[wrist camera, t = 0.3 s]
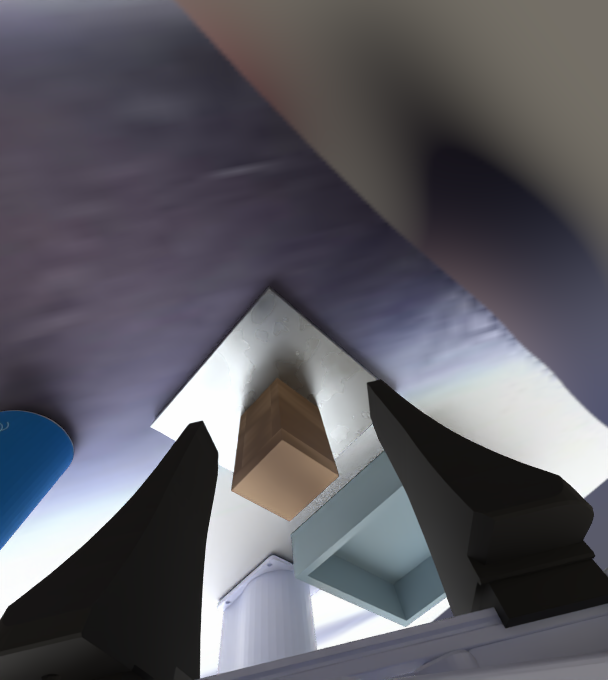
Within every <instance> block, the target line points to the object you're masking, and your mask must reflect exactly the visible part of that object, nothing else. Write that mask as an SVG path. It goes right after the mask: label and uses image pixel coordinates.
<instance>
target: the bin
mask: <svg viewBox="0 0 608 680" xmlns="http://www.w3.org/2000/svg"><path fill="white" fill-rule="evenodd" d="M291 539H292V550H293V562H294V573H295V578H296V579H298V580H301V581H303V582H305V583H307V584H310V585H312V586H314V587H317V588H319V589H321V590H323V591H326V592H328V593H330V594H332V595H335V596H337V597H339V598H341V599H344V600H346V601H348V602H350V603H353V604H355V605H357V606H359V607H362V608H364V609H366V610H368V611H371V612H373V613H375V614H377V615H380V616H382V617H384V618H386V619H389V620H391V621H393V622H396V623H398V624H400V625H402V626H405V627H406V626H408V625H409V624H410V623H412V622H413V621H415V620H416V619H417V618H419V617H420V616H421V615H423V614H424V613H425V612H427V611H428V610H430V609H431V608H432V607H434V606H435V605H436V604H438V603H439V602H440V601H442V600H443V599H445V598H446V597H447V596H446V594H445V591H444V588H443V585H442V583H441V580H440V577H439V575H438V572H437V569H436V567H435V564H434V561H433V559H432V556H431V553H430V551H429V548H428V546H427V543H426V541H425V538H424V535H423V533H422V530H421V528H420V525H419V523H418V520H417V518H416V515H415V513H414V510H413V508H412V506H411V503H410V501H409V498H408V496H407V494H406V491H405V489H404V487H403V485H402V483H401V481H400V479H399V477H398V475H397V474H396V472H395V470H394V468H393V466H392V464H391V462H390V460H389V458H388V456H387V454H386V452H385V450H384V451H383V452H382V453H381V454H380V455H379V456H378V457H377V458H375V459H374V460H373V461H372V462H371V463H370V464H369V465H368V466H367V467H365V468H364V469H363V470H362V471H361V472H360V473H359V474H358V475H357V476H355V477H354V478H353V479H352V480H351V481H350V482H349V483H348V484H347V485H345V486H344V487H343V488H342V489H341V490H340V491H339V492H338V493H337V494H336V495H334V496H333V497H332V498H331V499H330V500H329V501H328V502H327V503H326V504H324V505H323V506H322V507H321V508H320V509H319V510H318V511H317V512H316V513H314V514H313V515H312V516H311V517H310V518H309V519H308V520H307V521H306V522H304V523H303V524H302V525H301V526H300V527H299V528H298V529H297V530H296V531H294V532H293V533H292V534H291Z"/></svg>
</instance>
